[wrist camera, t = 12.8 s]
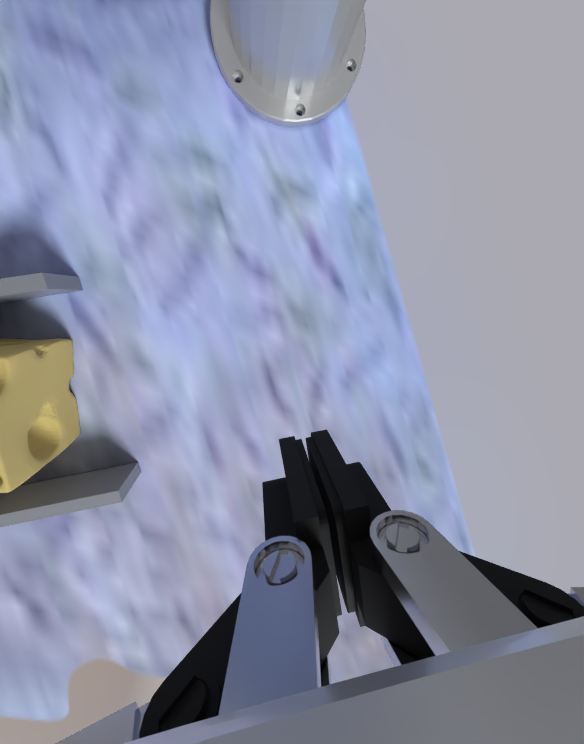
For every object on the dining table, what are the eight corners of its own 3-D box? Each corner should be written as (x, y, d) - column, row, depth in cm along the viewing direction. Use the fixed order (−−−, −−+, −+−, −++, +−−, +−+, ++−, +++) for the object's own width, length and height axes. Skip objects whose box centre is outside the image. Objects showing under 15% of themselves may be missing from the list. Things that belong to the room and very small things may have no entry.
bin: (-103, 303, 26) (-183, 305, 22) (78, 276, 28) (41, 272, 23) (-9, 501, 32) (-55, 538, 27) (141, 471, 33) (122, 501, 28)
